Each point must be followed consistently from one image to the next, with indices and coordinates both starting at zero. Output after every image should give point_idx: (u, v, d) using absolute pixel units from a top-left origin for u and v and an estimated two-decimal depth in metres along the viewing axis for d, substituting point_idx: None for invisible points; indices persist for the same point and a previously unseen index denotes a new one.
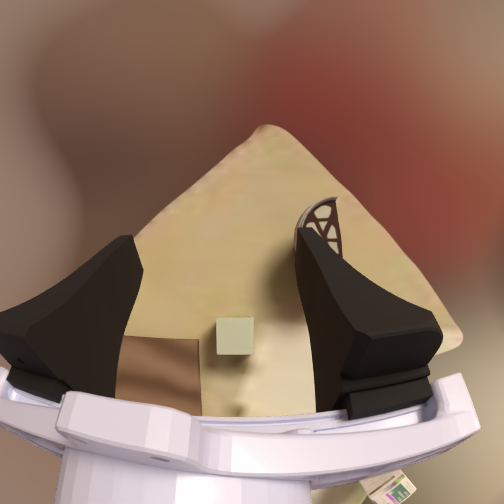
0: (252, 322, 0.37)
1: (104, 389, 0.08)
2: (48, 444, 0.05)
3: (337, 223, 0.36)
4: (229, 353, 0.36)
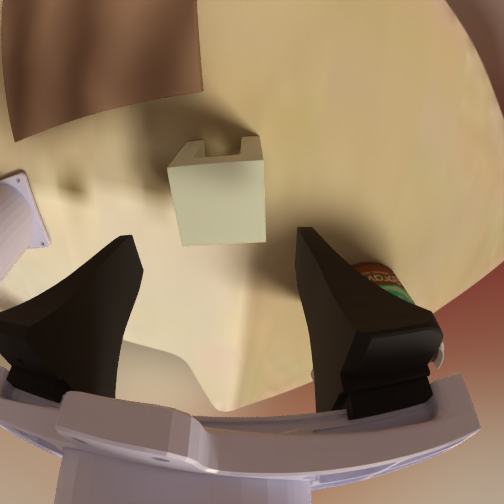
0: (254, 240, 0.17)
1: (104, 389, 0.08)
2: (48, 444, 0.05)
3: None
4: (174, 196, 0.15)
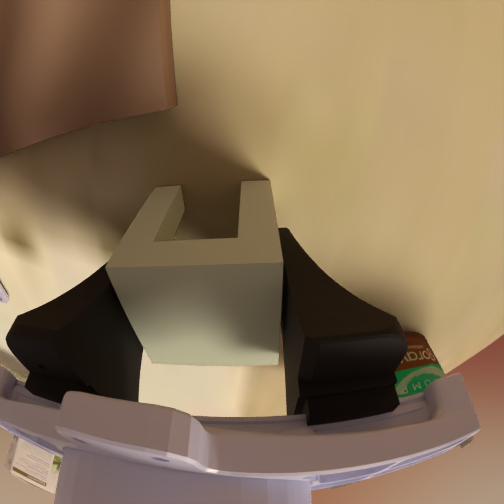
0: (260, 362, 0.10)
1: (128, 393, 0.08)
2: (48, 444, 0.05)
3: None
4: (127, 308, 0.08)
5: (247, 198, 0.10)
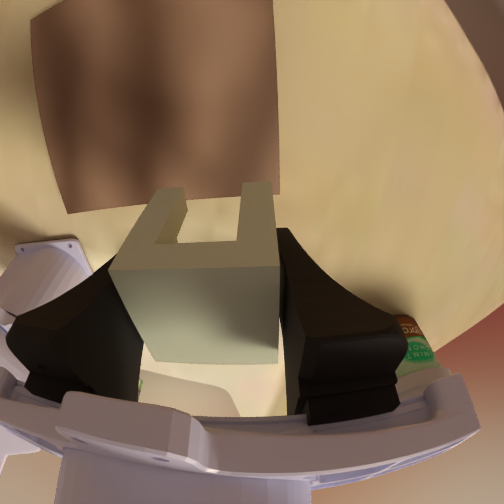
0: (260, 361, 0.10)
1: (128, 393, 0.08)
2: (48, 444, 0.05)
3: None
4: (129, 309, 0.09)
5: (247, 200, 0.10)
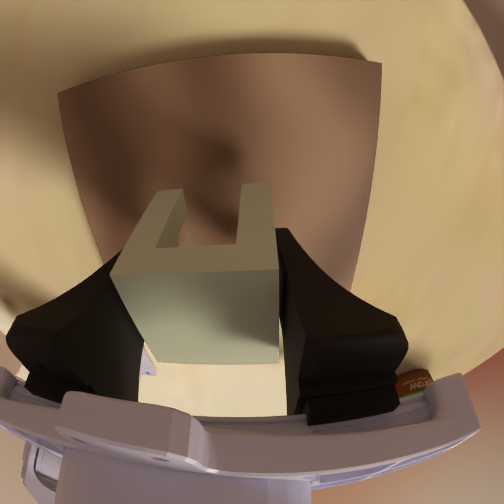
0: (261, 361, 0.11)
1: (128, 393, 0.08)
2: (48, 444, 0.05)
3: None
4: (131, 312, 0.09)
5: (247, 202, 0.11)
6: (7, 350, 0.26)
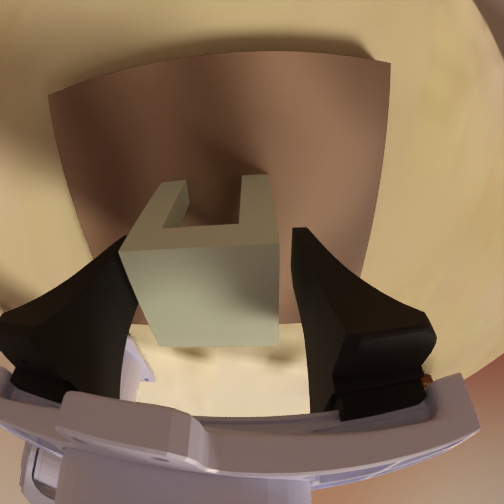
0: (261, 343, 0.11)
1: (109, 390, 0.08)
2: (48, 444, 0.05)
3: None
4: (137, 291, 0.09)
5: (247, 190, 0.11)
6: None
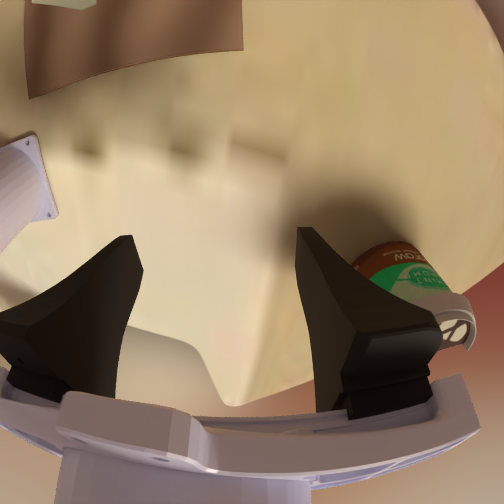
0: None
1: (104, 389, 0.08)
2: (48, 444, 0.05)
3: None
4: None
5: None
6: None
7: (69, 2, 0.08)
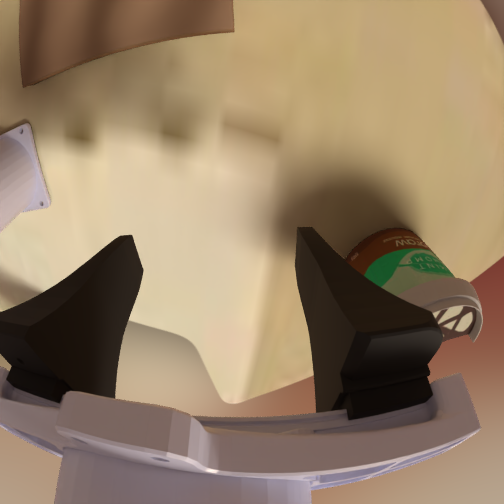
0: None
1: (104, 389, 0.08)
2: (48, 444, 0.05)
3: None
4: None
5: None
6: None
7: None
